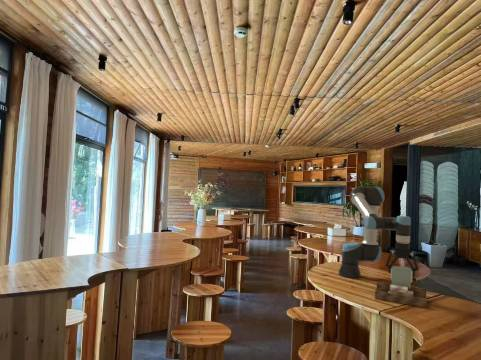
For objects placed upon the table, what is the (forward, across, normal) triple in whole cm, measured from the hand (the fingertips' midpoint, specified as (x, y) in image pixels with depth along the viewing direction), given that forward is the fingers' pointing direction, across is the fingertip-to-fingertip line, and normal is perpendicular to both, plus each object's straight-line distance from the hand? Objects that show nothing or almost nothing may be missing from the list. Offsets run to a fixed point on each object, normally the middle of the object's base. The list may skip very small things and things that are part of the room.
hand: (401, 280), depth 200 cm
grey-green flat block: (+8, 0, 0) cm, 8 cm away
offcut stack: (+8, 0, -7) cm, 11 cm away
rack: (+10, 0, -5) cm, 11 cm away
